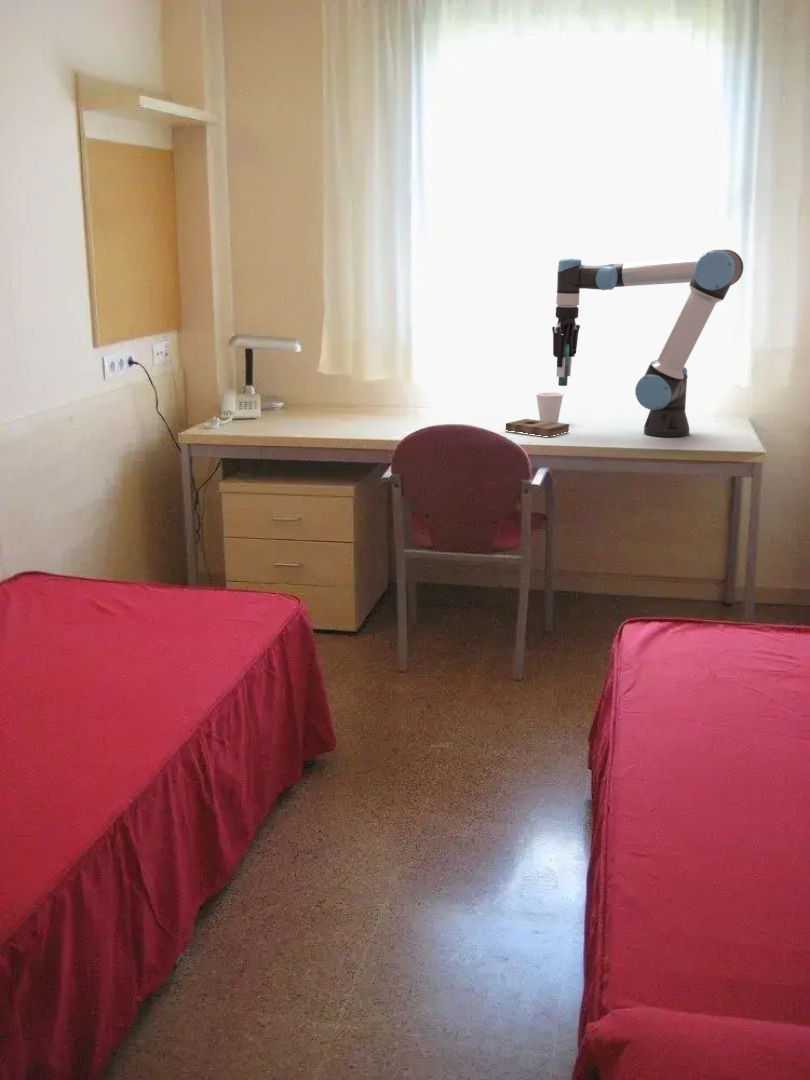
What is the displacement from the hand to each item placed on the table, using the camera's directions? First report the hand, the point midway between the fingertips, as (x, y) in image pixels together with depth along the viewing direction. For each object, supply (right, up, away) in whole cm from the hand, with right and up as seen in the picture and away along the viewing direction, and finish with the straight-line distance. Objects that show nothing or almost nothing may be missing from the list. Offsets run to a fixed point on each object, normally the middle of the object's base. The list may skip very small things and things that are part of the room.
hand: (563, 376), depth 391 cm
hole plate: (-8, -19, +6) cm, 21 cm away
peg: (0, -3, +1) cm, 3 cm away
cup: (-2, -14, +22) cm, 26 cm away
